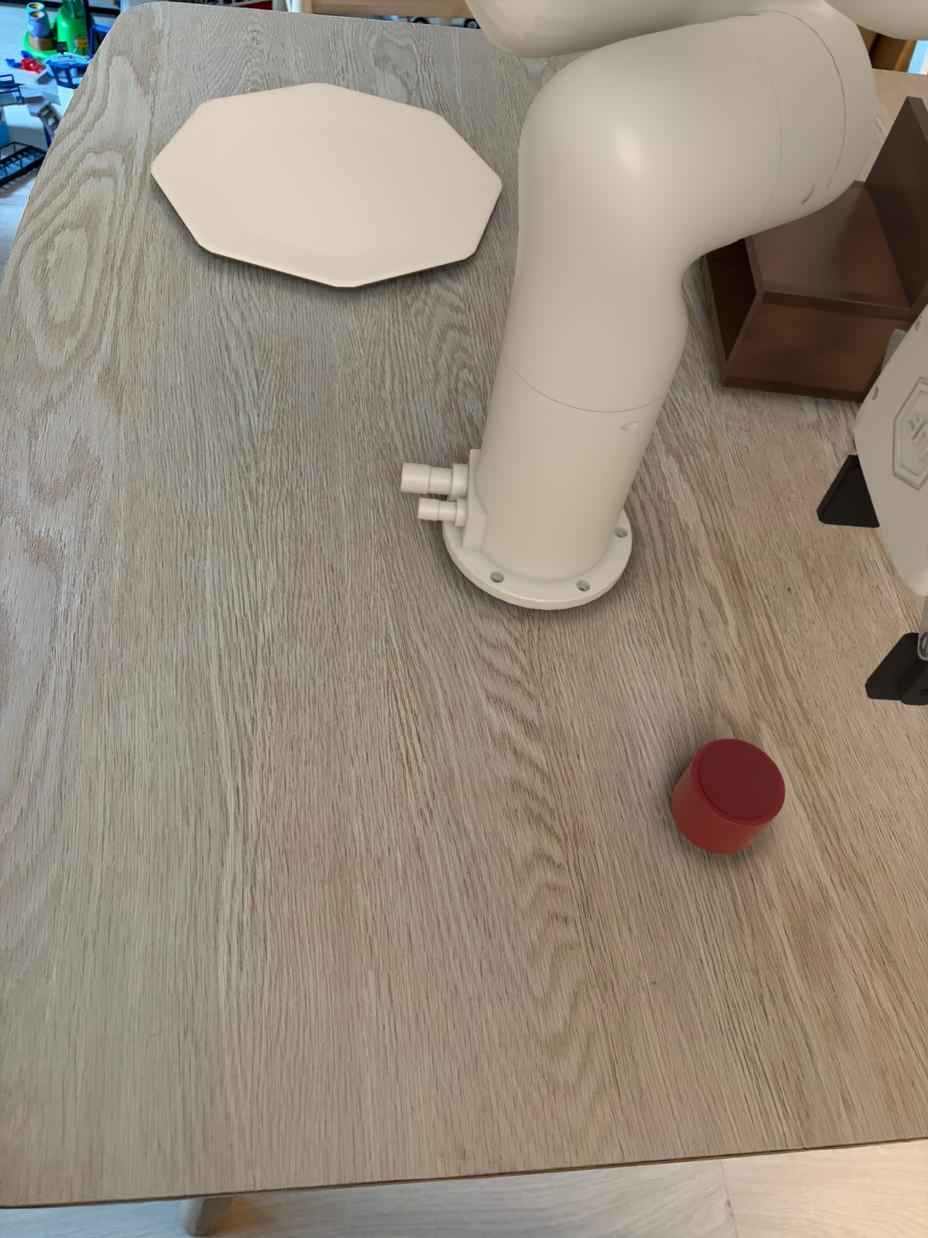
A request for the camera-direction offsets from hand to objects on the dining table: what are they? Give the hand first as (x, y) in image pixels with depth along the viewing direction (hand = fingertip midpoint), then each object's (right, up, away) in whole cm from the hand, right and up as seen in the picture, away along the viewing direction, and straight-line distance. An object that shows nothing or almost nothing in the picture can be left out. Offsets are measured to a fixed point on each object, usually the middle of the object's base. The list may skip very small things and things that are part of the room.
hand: (871, 602), depth 46 cm
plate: (-30, +36, +42) cm, 62 cm away
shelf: (+8, +23, +39) cm, 46 cm away
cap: (-4, -12, +12) cm, 17 cm away
